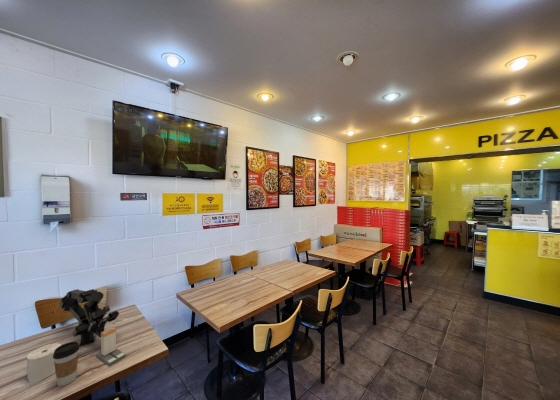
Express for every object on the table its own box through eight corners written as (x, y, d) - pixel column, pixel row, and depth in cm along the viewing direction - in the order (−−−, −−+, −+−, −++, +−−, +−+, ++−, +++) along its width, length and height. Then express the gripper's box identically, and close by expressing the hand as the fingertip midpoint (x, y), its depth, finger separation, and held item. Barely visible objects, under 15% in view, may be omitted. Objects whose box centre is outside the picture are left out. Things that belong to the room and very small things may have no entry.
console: (95, 356, 110) (95, 353, 110) (111, 348, 116) (111, 345, 116) (109, 366, 103) (109, 363, 103) (125, 357, 109) (125, 354, 109)
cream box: (101, 353, 109) (100, 332, 109) (112, 347, 113) (112, 327, 113) (104, 356, 107) (103, 334, 107) (116, 349, 112) (115, 328, 112)
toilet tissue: (59, 360, 108) (59, 340, 108) (63, 372, 100) (62, 350, 100) (26, 373, 99) (26, 352, 99) (27, 388, 92) (27, 364, 92)
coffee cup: (63, 390, 90) (62, 354, 90) (47, 386, 92) (47, 351, 92) (84, 374, 99) (84, 341, 99) (70, 371, 100) (70, 339, 100)
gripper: (74, 310, 108) (84, 339, 102) (117, 296, 124) (127, 320, 119) (68, 322, 111) (77, 351, 106) (110, 306, 128) (120, 330, 122)
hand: (102, 337), depth 113 cm, fingers closed
